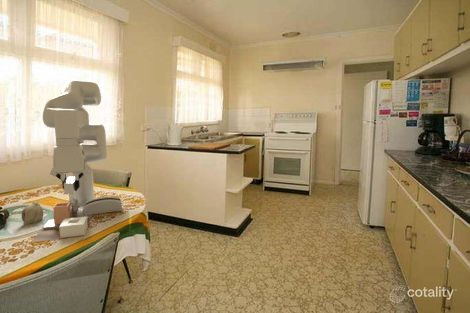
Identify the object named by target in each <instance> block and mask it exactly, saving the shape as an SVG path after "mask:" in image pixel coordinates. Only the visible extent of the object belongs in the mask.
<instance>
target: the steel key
mask: <svg viewBox="0 0 470 313" xmlns="http://www.w3.org/2000/svg"><path fill="white" fill-rule="evenodd" d="M66 178H67V180H66V181H65V182H64V189H63V191H64V194H65V195H67V194H68V199H69V202H70V206H72V205H75V204H76V201H75V182H74V181H75V177H72V176H68V177H66Z"/></svg>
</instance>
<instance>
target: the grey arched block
mask: <svg viewBox="0 0 470 313" xmlns="http://www.w3.org/2000/svg"><path fill="white" fill-rule="evenodd" d="M94 198H95V199H92V200H89V201H87V202H86V204H85V215H86V216H90V215H91V216H92V215H98V214H105V213H110V212H111V213H112V212H120V211H121V212H122V211H123V204H122V203H123V202H122V200H121V198H120V197H117V196H103V197H94Z"/></svg>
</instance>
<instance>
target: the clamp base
mask: <svg viewBox="0 0 470 313" xmlns="http://www.w3.org/2000/svg"><path fill="white" fill-rule="evenodd" d="M75 201H76V204H75V205H71V207H72V217H73V218H76V217H87V221H88V219H89V217H90V215H85V206H78V200H77V199H75ZM46 222H47V221H46ZM44 225H45V226H44ZM44 225H43V226H44V227H43V226H42V227H43V230H45V229H55V228H59V226H60V225H61V224H57V225H54V218H52V219H48V222H47V223H45V224H44Z"/></svg>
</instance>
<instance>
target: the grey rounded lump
mask: <svg viewBox="0 0 470 313" xmlns="http://www.w3.org/2000/svg"><path fill="white" fill-rule="evenodd" d="M44 215H45V214H44V209H43V207H42V206H41V204H40V203H39V202H36V201H33V202H32V204H31V203H30V205H27V206H25V207H24V208H23V209H22V211H21V220H22V221H23V223H22V224H23V225H24V226H27V225H28V224H29V225H31V224H35V223H38V222H39V221H41V220H42V219H43V217H44Z"/></svg>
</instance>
